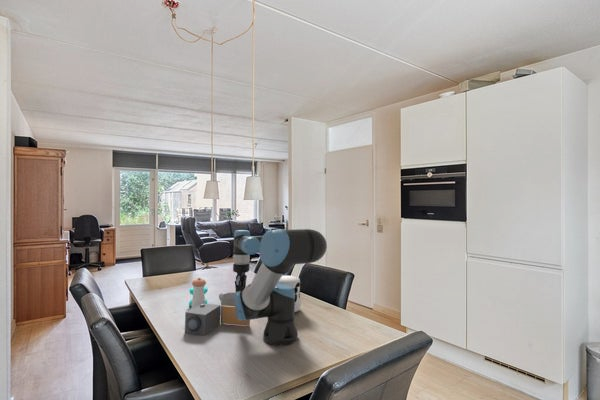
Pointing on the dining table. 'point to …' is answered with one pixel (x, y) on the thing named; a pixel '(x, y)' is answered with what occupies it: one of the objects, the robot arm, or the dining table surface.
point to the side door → (231, 316)
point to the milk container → (295, 284)
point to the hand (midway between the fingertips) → (240, 313)
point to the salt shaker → (198, 292)
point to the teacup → (227, 299)
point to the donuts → (192, 294)
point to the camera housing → (202, 318)
